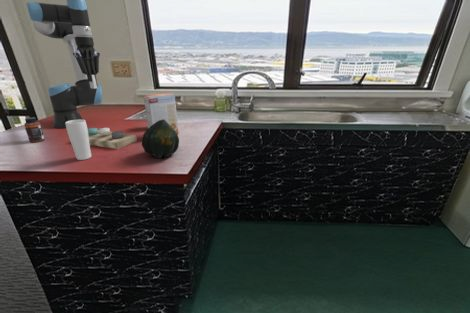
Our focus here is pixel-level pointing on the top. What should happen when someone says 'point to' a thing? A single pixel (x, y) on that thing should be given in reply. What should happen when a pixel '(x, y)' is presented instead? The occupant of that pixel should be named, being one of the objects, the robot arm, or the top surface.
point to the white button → (104, 131)
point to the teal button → (92, 131)
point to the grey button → (117, 134)
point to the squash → (160, 139)
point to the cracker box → (161, 109)
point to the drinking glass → (79, 138)
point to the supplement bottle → (33, 130)
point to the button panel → (111, 140)
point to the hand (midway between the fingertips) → (93, 88)
